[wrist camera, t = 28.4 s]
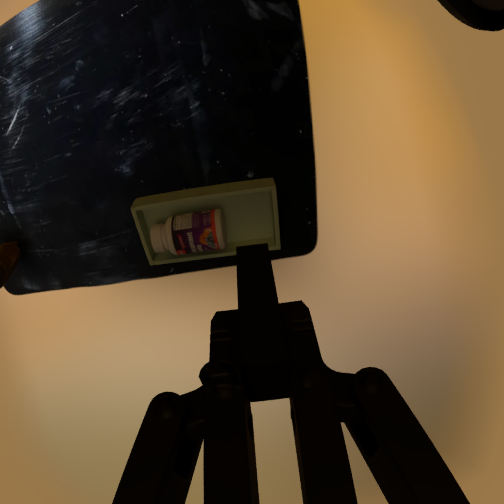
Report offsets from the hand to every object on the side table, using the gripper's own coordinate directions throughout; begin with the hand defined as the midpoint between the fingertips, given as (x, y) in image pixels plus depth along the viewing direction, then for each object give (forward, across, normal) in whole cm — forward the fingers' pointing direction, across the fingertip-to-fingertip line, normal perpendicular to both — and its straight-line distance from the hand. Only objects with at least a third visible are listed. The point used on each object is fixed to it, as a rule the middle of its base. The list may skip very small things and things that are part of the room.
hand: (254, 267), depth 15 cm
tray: (+26, -6, -11) cm, 29 cm away
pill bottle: (+23, -4, -11) cm, 26 cm away
